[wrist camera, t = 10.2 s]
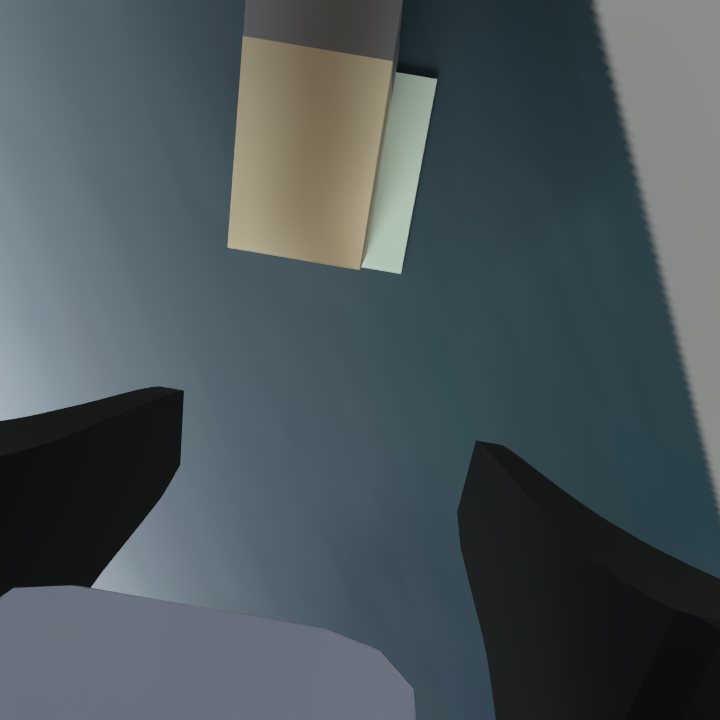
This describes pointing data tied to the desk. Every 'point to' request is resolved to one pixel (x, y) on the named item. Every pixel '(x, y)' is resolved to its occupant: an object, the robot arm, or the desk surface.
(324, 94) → the block
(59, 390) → the desk surface
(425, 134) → the pad
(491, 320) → the desk surface
